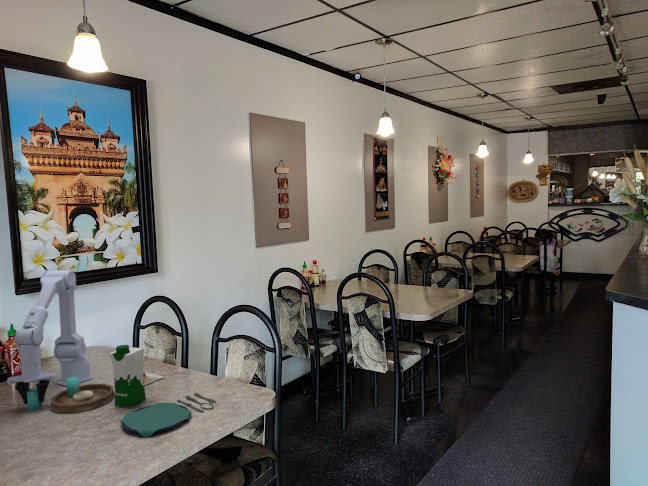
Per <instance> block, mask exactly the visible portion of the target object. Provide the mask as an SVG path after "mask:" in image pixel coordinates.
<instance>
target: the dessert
mask: <svg viewBox="0 0 648 486" xmlns="http://www.w3.org/2000/svg"><path fill="white" fill-rule="evenodd" d="M148 377H151V378H156V379H154V380H152V381H150V382H147V381H148V380H149V379H148ZM164 377H165V376H164V375H163V376H162V375H160V374H155V373H150V372H146V371H144V370H143V380H144V386H146V385H149V384H152V383H154V382H157V381H160V380H162V379H163V378H164ZM145 382H147V383H145Z"/></svg>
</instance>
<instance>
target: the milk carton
mask: <svg viewBox="0 0 648 486" xmlns="http://www.w3.org/2000/svg"><path fill="white" fill-rule="evenodd" d="M144 351H145V348H143V347H142V348H141V347H130V345H129V344H122V345H121V344H120V345H117V346H116V347H115V351H113V352H111V353H109V356H110V360H111V363H112V367H113V381H114V382H113V383H114V386H113V387H114V394H115V397H114V406H115V407H123V408H129V409H132V408H133V407H136V406H137V405H139V404H141V403H143V402H145V401H146V400H147V395H146V390H145V385H144V384H145V382H144V380H143V371H144V367H143V358H144V353H145V352H144Z"/></svg>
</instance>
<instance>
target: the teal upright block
mask: <svg viewBox="0 0 648 486" xmlns="http://www.w3.org/2000/svg"><path fill="white" fill-rule="evenodd" d="M79 386H80V383H79V377H70V378H67V379H66V386H65V387H66V389H65V390H67V397H69V398H72V397H73V395H74V394H76V393H78V392H80V388H79Z"/></svg>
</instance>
